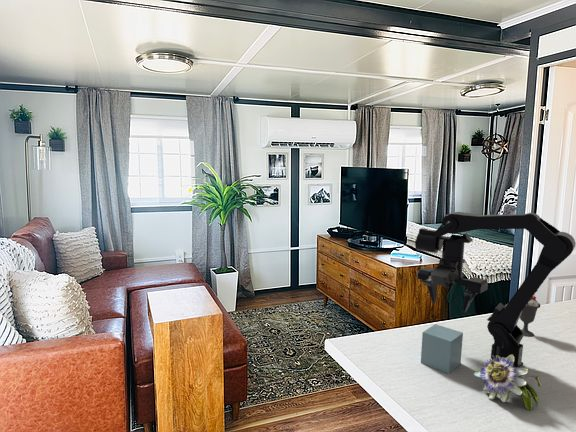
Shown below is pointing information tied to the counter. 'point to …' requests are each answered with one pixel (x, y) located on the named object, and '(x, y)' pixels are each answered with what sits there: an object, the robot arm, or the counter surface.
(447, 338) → the grey-blue slanted prism
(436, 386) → the counter surface
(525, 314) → the sundae
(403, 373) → the counter surface
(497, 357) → the passion flower
